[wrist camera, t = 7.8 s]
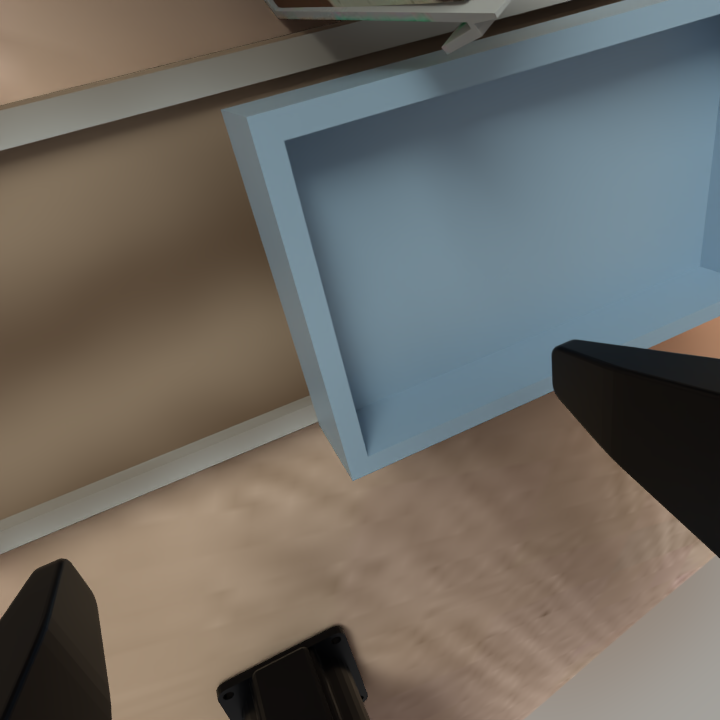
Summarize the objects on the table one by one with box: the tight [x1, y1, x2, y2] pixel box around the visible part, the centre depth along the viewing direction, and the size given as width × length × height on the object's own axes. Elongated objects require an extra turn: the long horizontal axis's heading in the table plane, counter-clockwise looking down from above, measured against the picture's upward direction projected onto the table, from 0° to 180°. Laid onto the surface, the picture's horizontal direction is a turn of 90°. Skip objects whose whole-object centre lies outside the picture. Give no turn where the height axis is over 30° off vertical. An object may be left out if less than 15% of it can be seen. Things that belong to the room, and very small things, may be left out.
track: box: [0, 0, 624, 554], centre depth 18 cm, size 12×29×2 cm, turn 103°
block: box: [648, 316, 720, 359], centre depth 28 cm, size 5×5×5 cm
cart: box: [221, 0, 720, 481], centre depth 17 cm, size 10×16×5 cm, turn 103°
